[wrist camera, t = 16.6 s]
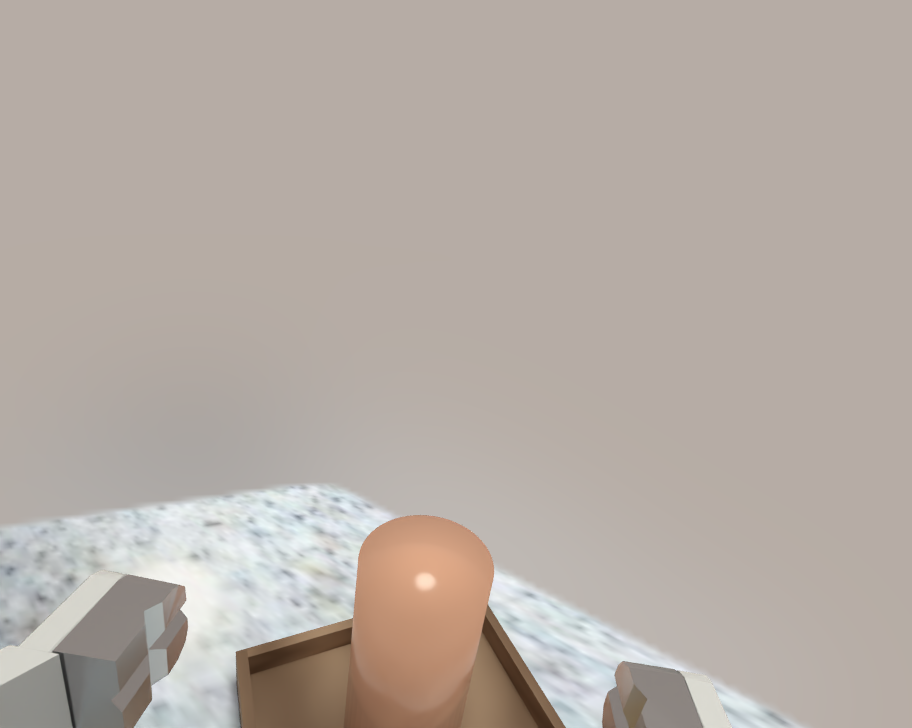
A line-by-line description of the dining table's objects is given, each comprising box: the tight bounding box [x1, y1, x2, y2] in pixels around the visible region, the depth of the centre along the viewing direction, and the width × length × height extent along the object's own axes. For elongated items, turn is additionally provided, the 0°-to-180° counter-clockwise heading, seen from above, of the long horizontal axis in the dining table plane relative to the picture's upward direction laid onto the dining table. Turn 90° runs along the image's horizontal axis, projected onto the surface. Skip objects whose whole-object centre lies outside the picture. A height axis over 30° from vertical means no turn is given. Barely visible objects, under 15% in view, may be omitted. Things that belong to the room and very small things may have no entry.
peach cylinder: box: [344, 515, 494, 728], centre depth 26 cm, size 6×6×12 cm
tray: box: [236, 605, 566, 728], centre depth 28 cm, size 16×13×2 cm
